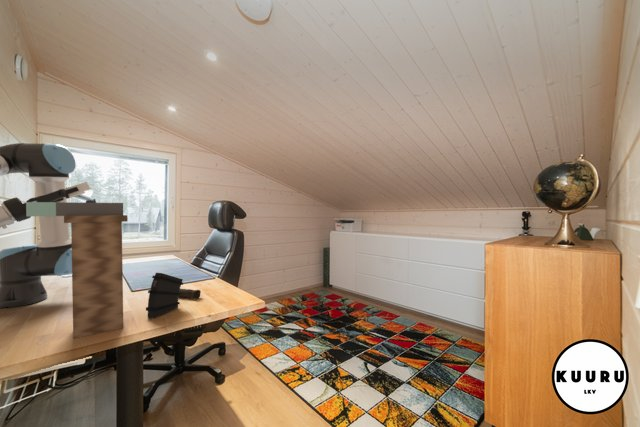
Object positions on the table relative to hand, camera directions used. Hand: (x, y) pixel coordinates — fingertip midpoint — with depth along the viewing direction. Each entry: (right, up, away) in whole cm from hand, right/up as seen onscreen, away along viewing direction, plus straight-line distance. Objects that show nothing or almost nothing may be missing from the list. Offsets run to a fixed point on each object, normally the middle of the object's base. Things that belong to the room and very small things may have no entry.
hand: (85, 187), depth 103 cm
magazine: (+31, -46, -1) cm, 56 cm away
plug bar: (+14, -10, -18) cm, 25 cm away
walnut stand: (+17, -46, -15) cm, 52 cm away
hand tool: (+27, -46, +16) cm, 56 cm away
